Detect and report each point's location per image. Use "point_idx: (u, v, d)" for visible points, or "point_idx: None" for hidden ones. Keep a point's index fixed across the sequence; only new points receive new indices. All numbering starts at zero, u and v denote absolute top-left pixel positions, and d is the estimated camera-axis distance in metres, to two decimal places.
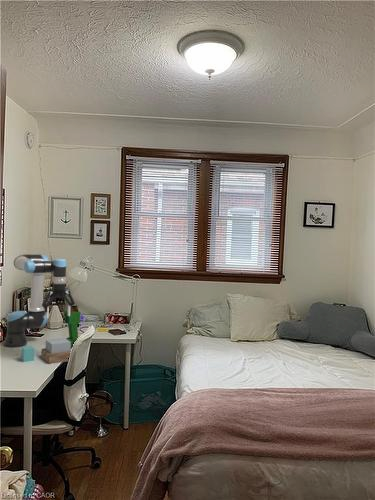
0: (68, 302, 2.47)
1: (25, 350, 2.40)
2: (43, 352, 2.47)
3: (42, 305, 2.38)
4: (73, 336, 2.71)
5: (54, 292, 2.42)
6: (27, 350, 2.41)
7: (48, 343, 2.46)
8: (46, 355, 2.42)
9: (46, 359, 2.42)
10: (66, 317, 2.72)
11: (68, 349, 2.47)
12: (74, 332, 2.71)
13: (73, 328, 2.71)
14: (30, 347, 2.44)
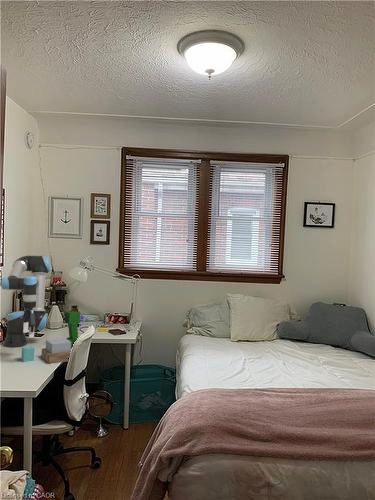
0: (29, 322, 2.38)
1: (25, 350, 2.40)
2: (43, 352, 2.47)
3: None
4: (73, 336, 2.71)
5: (26, 309, 2.45)
6: (27, 350, 2.41)
7: (48, 343, 2.46)
8: (46, 355, 2.43)
9: (46, 359, 2.42)
10: (66, 317, 2.72)
11: (68, 349, 2.47)
12: (74, 332, 2.71)
13: (73, 328, 2.71)
14: (30, 347, 2.44)
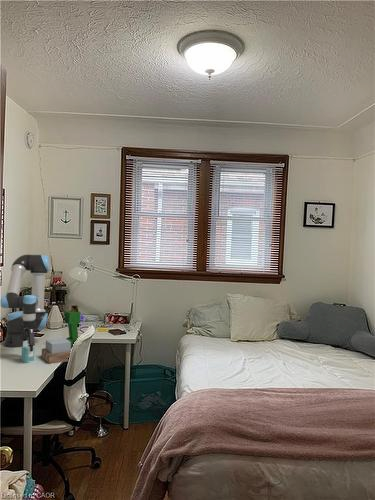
0: None
1: (25, 350, 2.40)
2: (43, 352, 2.47)
3: None
4: (73, 336, 2.71)
5: (25, 328, 2.45)
6: (27, 350, 2.41)
7: (48, 343, 2.46)
8: (46, 355, 2.42)
9: (46, 359, 2.42)
10: (66, 317, 2.72)
11: (68, 349, 2.47)
12: (74, 332, 2.71)
13: (73, 328, 2.71)
14: None
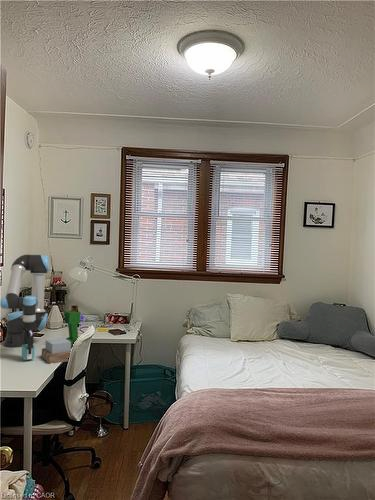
0: None
1: (25, 348, 2.40)
2: (43, 352, 2.48)
3: None
4: (73, 336, 2.71)
5: (25, 329, 2.45)
6: None
7: (48, 343, 2.45)
8: (46, 355, 2.43)
9: (46, 359, 2.42)
10: (66, 317, 2.72)
11: (68, 349, 2.47)
12: (74, 332, 2.71)
13: (73, 328, 2.71)
14: None
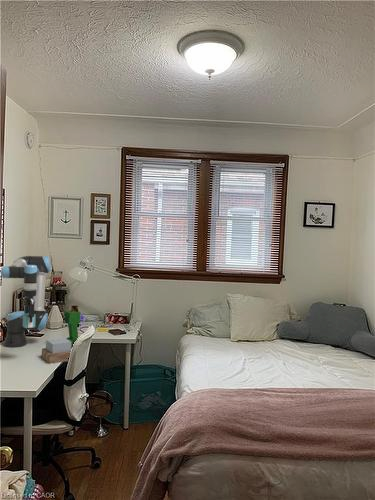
0: (28, 312, 2.40)
1: (26, 316, 2.40)
2: (43, 352, 2.48)
3: None
4: (73, 336, 2.71)
5: (26, 297, 2.45)
6: None
7: (49, 343, 2.46)
8: (46, 355, 2.43)
9: (46, 359, 2.43)
10: (66, 317, 2.72)
11: (69, 349, 2.48)
12: (74, 332, 2.71)
13: (73, 328, 2.71)
14: None
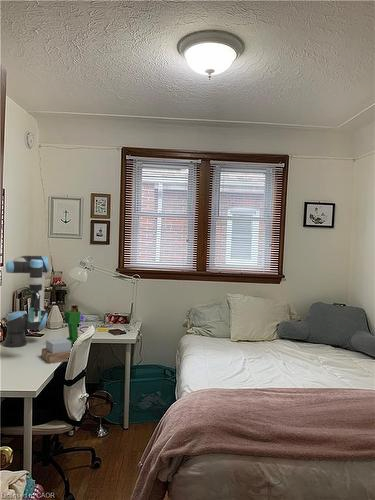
0: (34, 306, 2.41)
1: (32, 310, 2.40)
2: (43, 352, 2.48)
3: None
4: (73, 336, 2.71)
5: (32, 292, 2.46)
6: None
7: (49, 343, 2.46)
8: (46, 355, 2.43)
9: (46, 359, 2.43)
10: (66, 317, 2.72)
11: (69, 349, 2.48)
12: (74, 332, 2.71)
13: (73, 328, 2.71)
14: None
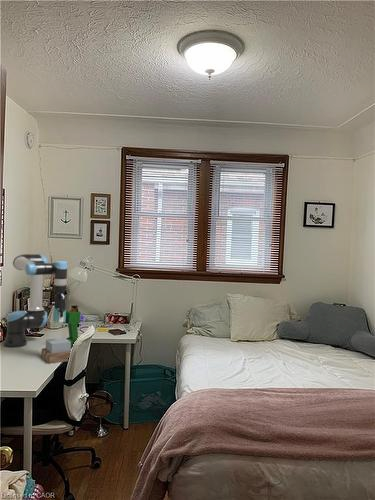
0: (59, 307, 2.45)
1: (57, 311, 2.45)
2: (43, 352, 2.48)
3: (55, 307, 2.53)
4: (73, 336, 2.71)
5: (56, 293, 2.50)
6: None
7: (48, 343, 2.46)
8: (46, 355, 2.43)
9: (46, 359, 2.43)
10: (66, 317, 2.72)
11: (68, 349, 2.47)
12: (74, 332, 2.71)
13: (73, 328, 2.71)
14: None
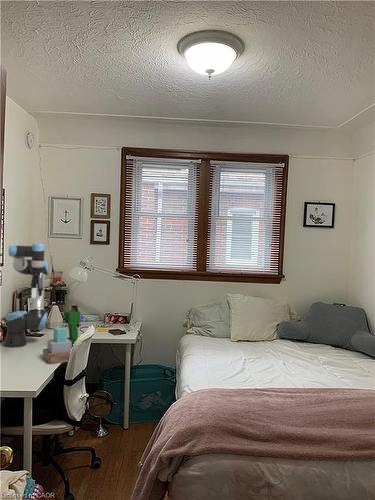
0: (37, 286, 2.50)
1: (58, 331, 2.45)
2: (45, 352, 2.47)
3: None
4: (73, 336, 2.71)
5: (34, 275, 2.57)
6: (60, 331, 2.46)
7: (49, 343, 2.46)
8: (48, 355, 2.42)
9: (48, 359, 2.42)
10: (66, 317, 2.72)
11: (69, 349, 2.47)
12: (74, 332, 2.71)
13: (73, 328, 2.71)
14: (62, 328, 2.49)
